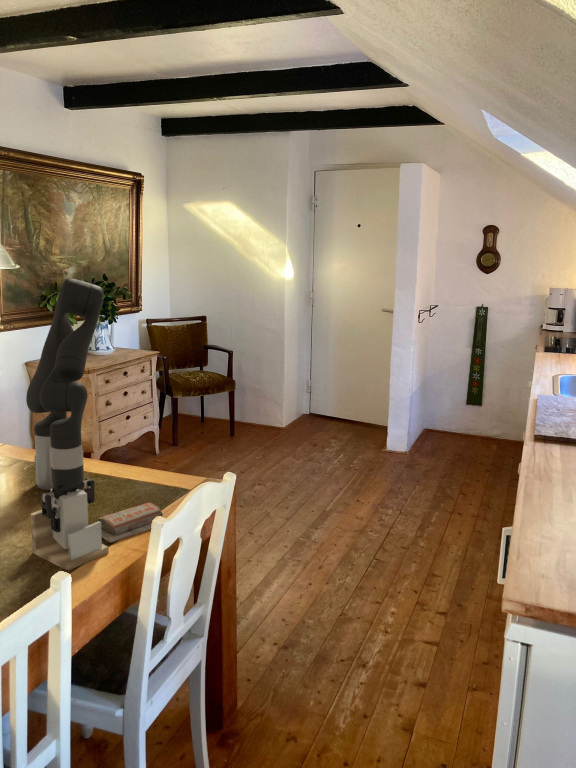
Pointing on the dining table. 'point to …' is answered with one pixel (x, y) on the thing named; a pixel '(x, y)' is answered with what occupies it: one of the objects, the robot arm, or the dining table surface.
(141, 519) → the packaged product
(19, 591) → the dining table surface
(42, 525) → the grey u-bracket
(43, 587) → the dining table surface
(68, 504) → the small box
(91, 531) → the grey rectangular panel
